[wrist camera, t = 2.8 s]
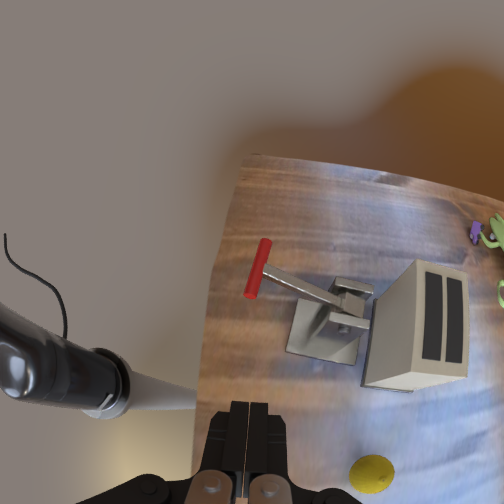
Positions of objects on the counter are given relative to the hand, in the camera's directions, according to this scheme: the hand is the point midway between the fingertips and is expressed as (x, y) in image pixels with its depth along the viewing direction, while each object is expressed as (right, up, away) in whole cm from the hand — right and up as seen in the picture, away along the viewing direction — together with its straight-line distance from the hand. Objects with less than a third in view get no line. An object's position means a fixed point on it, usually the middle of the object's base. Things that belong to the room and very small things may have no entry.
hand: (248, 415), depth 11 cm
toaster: (+21, -7, +27) cm, 35 cm away
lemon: (+15, -23, +18) cm, 33 cm away
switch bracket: (+11, -5, +28) cm, 31 cm away
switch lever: (+6, +2, +19) cm, 20 cm away
